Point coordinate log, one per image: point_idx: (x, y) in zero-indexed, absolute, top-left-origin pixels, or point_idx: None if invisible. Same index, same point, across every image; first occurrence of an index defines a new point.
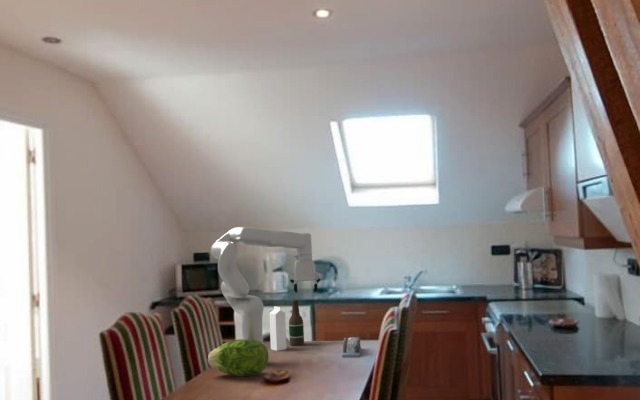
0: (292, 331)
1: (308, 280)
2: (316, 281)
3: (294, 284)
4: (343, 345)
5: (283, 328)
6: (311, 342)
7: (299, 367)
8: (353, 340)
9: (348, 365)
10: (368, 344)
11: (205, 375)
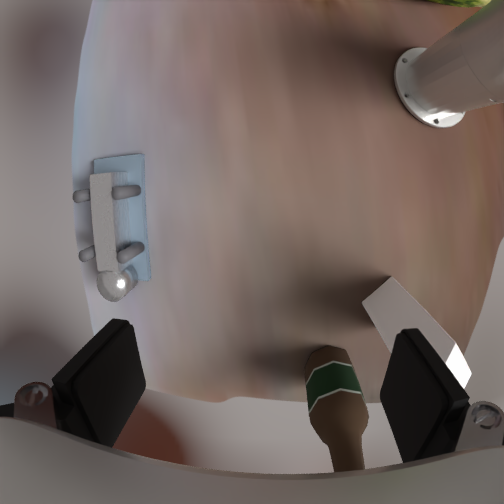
0: (350, 377)
1: (112, 448)
2: (15, 409)
3: (475, 406)
4: (127, 186)
5: (393, 332)
6: (281, 390)
7: (273, 22)
8: (98, 240)
9: (125, 53)
10: None
11: None
